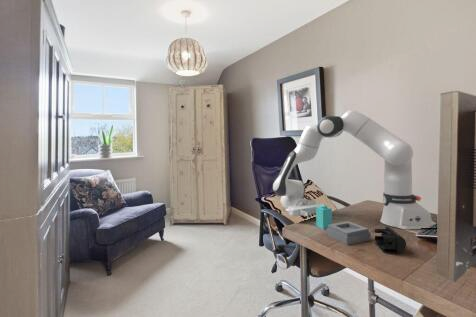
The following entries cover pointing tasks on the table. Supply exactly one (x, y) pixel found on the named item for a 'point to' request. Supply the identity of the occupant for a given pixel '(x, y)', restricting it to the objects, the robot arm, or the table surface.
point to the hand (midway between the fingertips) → (316, 213)
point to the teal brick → (323, 216)
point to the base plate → (348, 232)
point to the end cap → (389, 241)
